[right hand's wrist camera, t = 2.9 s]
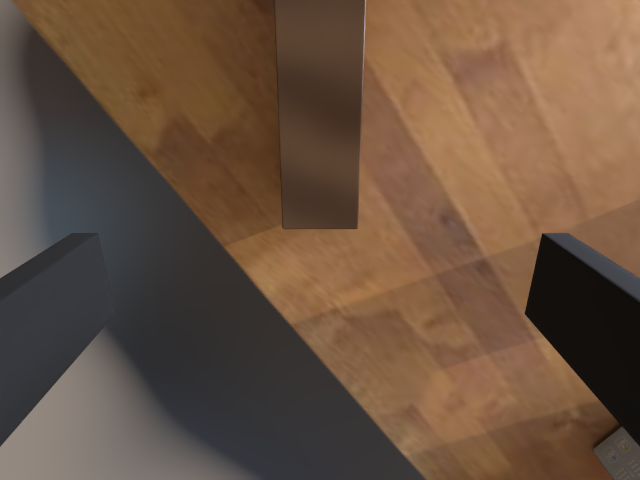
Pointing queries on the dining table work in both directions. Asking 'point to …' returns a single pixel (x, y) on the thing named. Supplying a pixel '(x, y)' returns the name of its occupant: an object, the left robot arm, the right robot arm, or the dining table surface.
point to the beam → (320, 110)
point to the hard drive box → (620, 456)
